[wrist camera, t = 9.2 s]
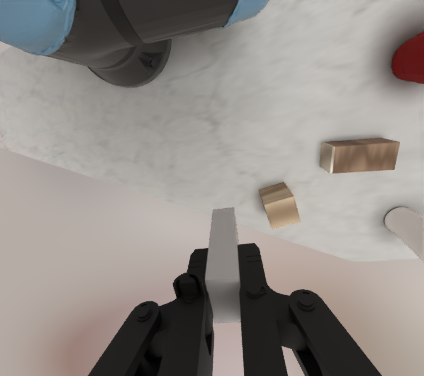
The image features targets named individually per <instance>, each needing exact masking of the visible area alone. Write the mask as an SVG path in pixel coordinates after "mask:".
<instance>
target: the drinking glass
mask: <svg viewBox="0 0 424 376" xmlns="http://www.w3.org/2000/svg"><path fill="white" fill-rule="evenodd" d="M385 225H386V227H387V228H388V229H389V230H390V231H392V232H393V233H394V234H395V235H396V236H397V237H398V238H399V239H400V240H401V241H402V242H403V243H404V244H406V245H407V246H408V247H409V248H410V249H411V250H412V251H413V252H414V253H415V254H416V255H417V256H418V257H419V258H420V259H421V260H422V261H423V262H424V216H423V215H420V214H418V213H416V212H415V211H413V210H411V209H409V208H406V207H399V208H395V209H393V210H391V211H390V212H389V213H388V214H387V215H386V217H385Z"/></svg>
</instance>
